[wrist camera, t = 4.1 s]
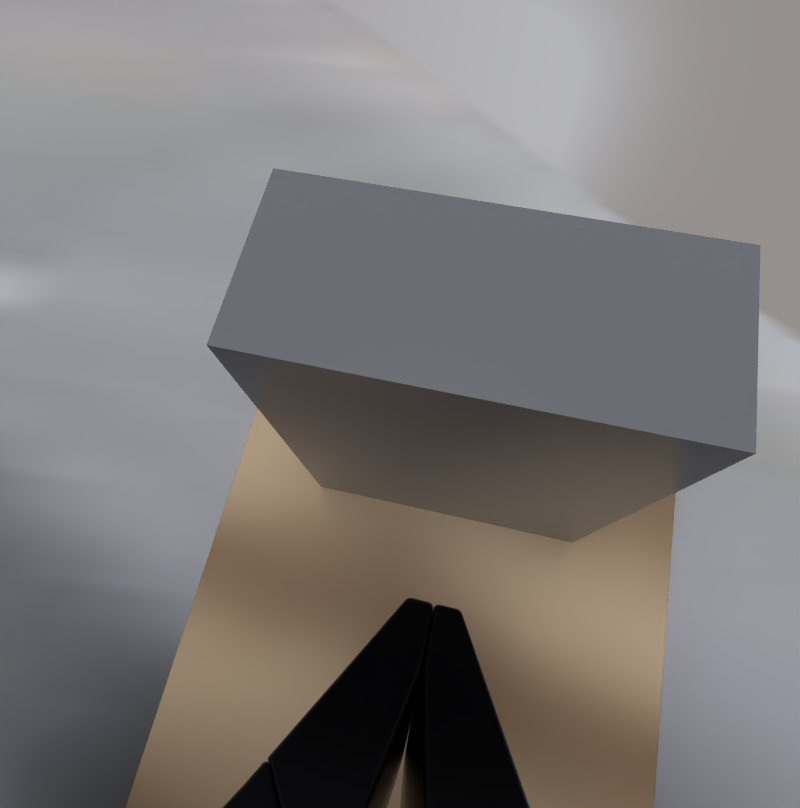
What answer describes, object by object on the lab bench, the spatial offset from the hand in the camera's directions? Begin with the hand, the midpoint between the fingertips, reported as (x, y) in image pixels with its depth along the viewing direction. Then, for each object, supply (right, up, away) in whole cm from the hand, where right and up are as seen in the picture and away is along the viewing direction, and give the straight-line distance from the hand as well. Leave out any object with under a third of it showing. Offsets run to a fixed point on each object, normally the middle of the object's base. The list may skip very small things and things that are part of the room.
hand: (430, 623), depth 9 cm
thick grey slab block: (+1, +2, +7) cm, 8 cm away
